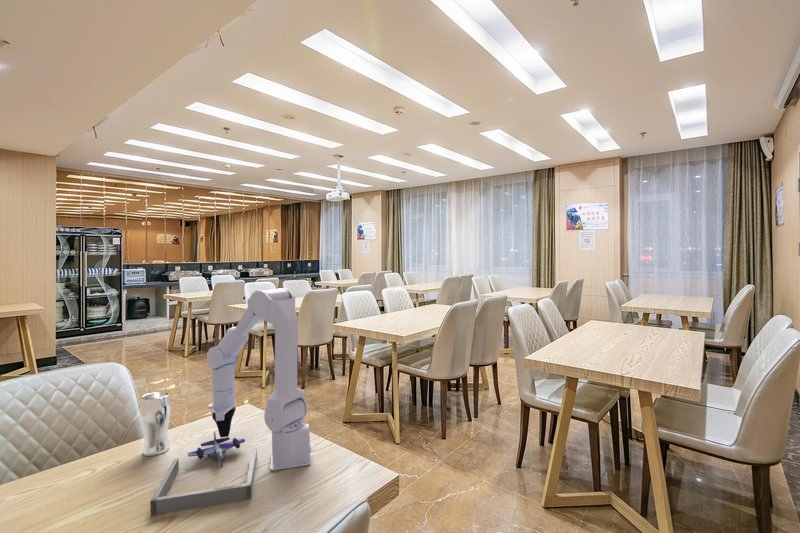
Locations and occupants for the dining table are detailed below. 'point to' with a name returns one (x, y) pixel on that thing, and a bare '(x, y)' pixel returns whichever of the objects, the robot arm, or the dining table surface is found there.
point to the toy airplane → (216, 448)
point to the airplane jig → (199, 492)
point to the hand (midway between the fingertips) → (224, 436)
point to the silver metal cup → (155, 422)
